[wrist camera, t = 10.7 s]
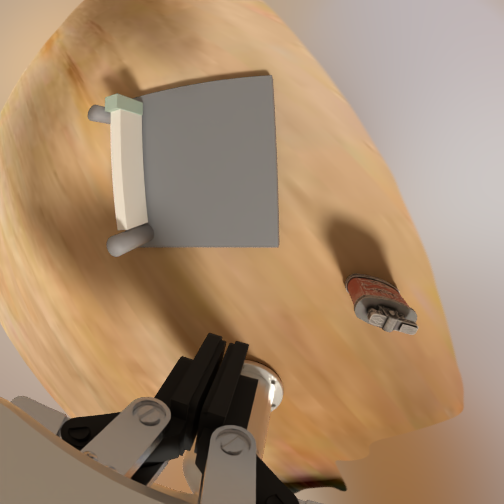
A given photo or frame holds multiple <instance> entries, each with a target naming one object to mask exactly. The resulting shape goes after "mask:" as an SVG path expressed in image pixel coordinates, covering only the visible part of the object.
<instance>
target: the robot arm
mask: <svg viewBox="0 0 504 504" xmlns="http://www.w3.org/2000/svg"><path fill="white" fill-rule="evenodd" d="M225 346H226V341H223V340H222V336H218V335H215V334H212V333H209V334H208V335H207V337H206V339H205V341H204V342H203V344H202V346H201V348H200V349H199V351H198V353H197V354H196V356H195V358H194V360H192V359H189V358H186V357H183V356H182V357H181V358H180V359H179V360H178V362H177V363H176V365H175V366H174V368H173V370H172V371H171V373H170V374H169V376H168V377H167V379H166V380H165V382H164V383H163V385H162V387H161V388H160V390H159V391H158V393H157V394H156V396H155V397H154V398H152V397H141V398H138V399H136V400H134V401H133V402H131V403H130V404H129V405H128V406H127V407H126V408H125V409H124V410H123V411H122V412H118V413H111V414H104V415H95V416H86V417H76V418H72V419H70V418H68V417H67V416H66V414H63V413H61V412H59V411H56V410H54V409H52V408H49V407H47V406H45V405H43V404H41V403H38V402H37V401H35V400H32V399H30V398H28V397H25V396H18V397H16V398H14V399H13V400H12V401H11V402H9V401H8V400H6V399H4V398H2V397H0V504H321V503H318V502H314V501H310V500H307V501H303V500H300V499H297V498H296V496H295V495H294V494H293V493H292V492H291V491H290V490H289V489H288V488H287V487H286V486H285V485H284V484H283V483H282V482H281V481H280V480H279V479H278V478H277V476H276V475H275V474H274V473H273V472H272V471H271V470H270V469H269V468H268V467H267V466H266V464H265V463H264V462H263V461H262V458H263V452H264V447H265V441H266V436H267V430H268V424H269V418H270V412H271V411H273V410H274V409H276V408H277V407H278V406H279V404H280V403H281V401H282V398H283V385H282V382H281V380H280V378H279V377H278V376H277V375H276V373H274V372H273V371H272V370H271V369H269V368H268V367H266V366H264V365H262V364H260V363H257V362H254V361H250V360H245V357H246V354H247V350H248V347H249V344H246V343H242V342H239V341H236V342H235V344H233V343H230V344H229V346H228V349H227V351H226V353H225V356H224V358H223V355H224V350H225ZM222 359H223V360H222ZM185 450H187V452H186V454H185V456H184V460H183V472H184V476H185V478H186V480H187V483H188V485H189V487H190V489H191V490H192V492H193V494H188V493H185V492H181V491H177V490H174V489H171V488H168V487H165V486H162V485H160V484H157V483H154V481H155V480H156V479H157V477H158V476H159V475H160V473H161V472H162V471H163V469H164V468H165V467H166V465H167V464H168V461H169V460H171V459H175V458H178V457H179V455H181V456H183V453H184V451H185Z"/></svg>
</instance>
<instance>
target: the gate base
mask: <svg viewBox="0 0 504 504" xmlns="http://www.w3.org/2000/svg"><path fill="white" fill-rule="evenodd" d="M132 99H134V100H137V101H139V102H142V103H143V115H142V148H143V169H144V184H145V196H146V207H147V217H148V223H145V224H142V225H139V226H136V227H134V228H131V229H128V230H126V231H125V232H122V233H119V234H117V235H114V236H111V237H110V238H109V239H108V240H107V249H108V252H109V253H110V254H111V255H112V256H114V257H118V256H121V255H123V254H125V253H127V252H129V251H131V250H133V249H135V248H137V247H279V210H278V176H277V149H276V126H275V107H274V89H273V78H272V75H268V76H254V77H243V78H234V79H226V80H218V81H211V82H205V83H199V84H193V85H188V86H182V87H177V88H173V89H168V90H164V91H159V92H155V93H151V94H147V95H143V96H140V97H136V98H132ZM88 119H89V120H90V121H95V122H101V123H106V124H111V113H110V112H106V111H105V107H103V106H99V105H93V106H92V107H91V108H90V109H89V111H88Z"/></svg>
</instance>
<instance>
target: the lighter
mask: <svg viewBox="0 0 504 504" xmlns="http://www.w3.org/2000/svg"><path fill="white" fill-rule="evenodd" d="M345 287H346V290H347V292H348V293H349V294H350V296H351V299H352V301H353V304H354V311H355V314H356V316H357V317H358V318H359V319H361V320H363V321H365V322H367V323H369V324H372V325H374V326H377V327H380V328H382V329H383V330H384V331H387V332H392V331H393V330H396V331H399V332H403V333H407V334H410V335H414V334H415V333H416V332H417V330H418V326H417V325H416V320H417V315H416V313H415V311H414V310H413V309H412V308H410V307H409V306H408V305H407V303H406V302H405V301H404V299H403V298H402V297H401V295H400V292H399V290H398V289H397V288H396V287H395V286H393V285H392V284H390V283H388V282H387V281H384V280H382V279H380V278H377V277H373V276H369V275H363V274H352V275H350V276H349V277H348V278H347V279H346V282H345Z"/></svg>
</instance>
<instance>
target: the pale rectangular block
mask: <svg viewBox="0 0 504 504" xmlns="http://www.w3.org/2000/svg"><path fill="white" fill-rule="evenodd" d="M105 111H106V112H110V113H111V163H112V180H113V193H114V204H115V213H116V222H117V230H128V229H131V228H134V227H136V226H139V225H142V224H145V223H148V217H147V207H146V196H145V184H144V169H143V148H142V115H143V103H142V102H139V101H137V100H134V99H131V98H129V97H126V96H123V95H120V94H118V93H117V94H114V95H111V96H108V97H105Z"/></svg>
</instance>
